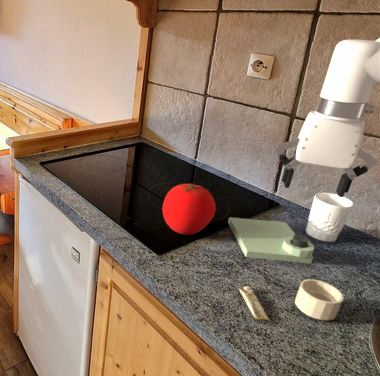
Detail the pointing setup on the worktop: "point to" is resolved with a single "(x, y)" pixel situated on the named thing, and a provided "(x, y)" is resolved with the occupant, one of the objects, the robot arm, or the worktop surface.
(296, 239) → the tare button
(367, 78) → the robot arm
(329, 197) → the white cup
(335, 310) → the bowl
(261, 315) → the snack bar
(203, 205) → the tomato
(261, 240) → the scale
